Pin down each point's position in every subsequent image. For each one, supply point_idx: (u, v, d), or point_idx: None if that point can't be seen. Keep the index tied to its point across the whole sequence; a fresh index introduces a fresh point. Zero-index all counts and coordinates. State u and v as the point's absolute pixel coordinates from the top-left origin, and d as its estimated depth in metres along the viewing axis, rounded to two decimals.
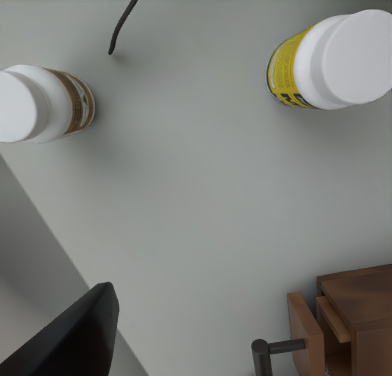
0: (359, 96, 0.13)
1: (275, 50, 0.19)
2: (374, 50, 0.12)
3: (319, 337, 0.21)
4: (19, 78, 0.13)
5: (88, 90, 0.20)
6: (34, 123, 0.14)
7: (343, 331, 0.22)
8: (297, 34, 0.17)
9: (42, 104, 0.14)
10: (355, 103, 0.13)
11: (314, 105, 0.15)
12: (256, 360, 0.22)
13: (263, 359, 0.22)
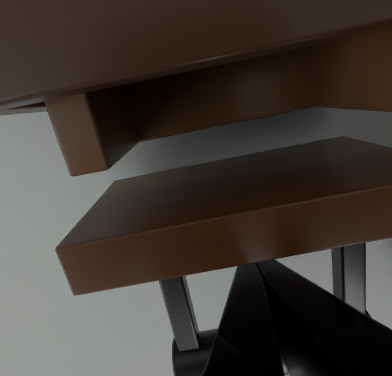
0: None
1: None
2: None
3: (76, 259, 0.06)
4: None
5: None
6: None
7: None
8: None
9: None
10: None
11: None
12: None
13: None
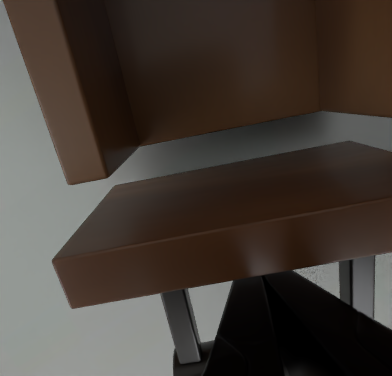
0: None
1: None
2: None
3: (73, 271, 0.05)
4: None
5: None
6: None
7: None
8: None
9: None
10: None
11: None
12: None
13: None
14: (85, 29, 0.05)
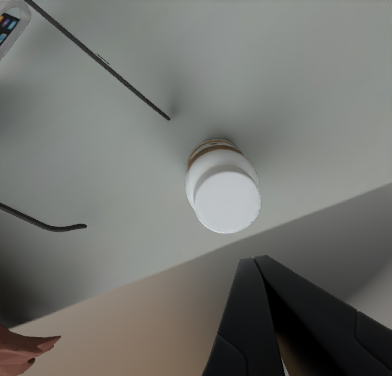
0: None
1: None
2: None
3: None
4: (201, 182, 0.14)
5: (203, 143, 0.20)
6: (243, 175, 0.13)
7: None
8: None
9: (224, 168, 0.14)
10: None
11: None
12: None
13: None
14: None
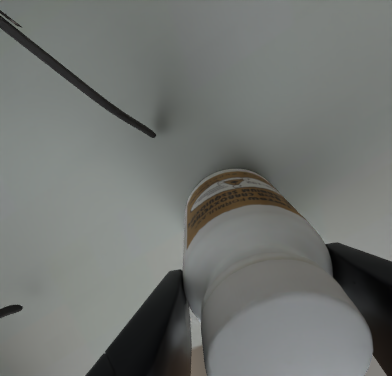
0: None
1: None
2: None
3: None
4: (223, 316, 0.05)
5: (213, 176, 0.12)
6: (336, 301, 0.05)
7: None
8: None
9: (281, 272, 0.06)
10: None
11: None
12: None
13: None
14: None
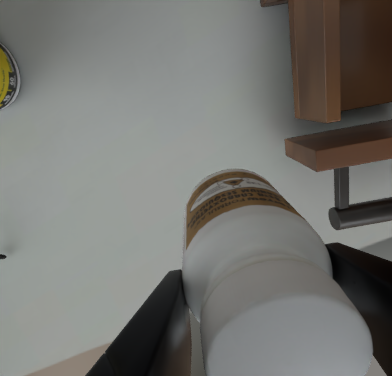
0: None
1: None
2: None
3: (322, 155, 0.15)
4: (223, 316, 0.05)
5: (213, 176, 0.12)
6: (336, 302, 0.05)
7: (323, 114, 0.15)
8: None
9: (280, 273, 0.06)
10: None
11: None
12: (353, 226, 0.17)
13: (351, 221, 0.16)
14: None
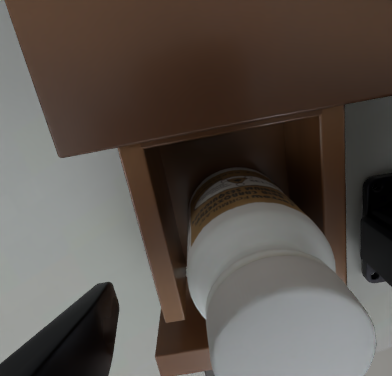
0: None
1: None
2: None
3: (165, 361, 0.11)
4: (229, 310, 0.05)
5: (216, 175, 0.12)
6: (340, 296, 0.05)
7: None
8: None
9: (285, 268, 0.06)
10: None
11: None
12: None
13: None
14: (172, 245, 0.11)
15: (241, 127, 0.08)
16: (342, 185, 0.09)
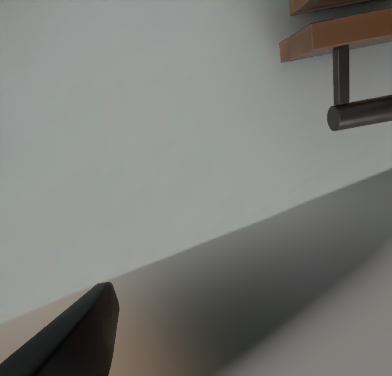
0: None
1: None
2: None
3: (319, 29, 0.13)
4: None
5: None
6: None
7: None
8: None
9: None
10: None
11: None
12: (354, 125, 0.15)
13: (352, 116, 0.15)
14: None
15: None
16: None
